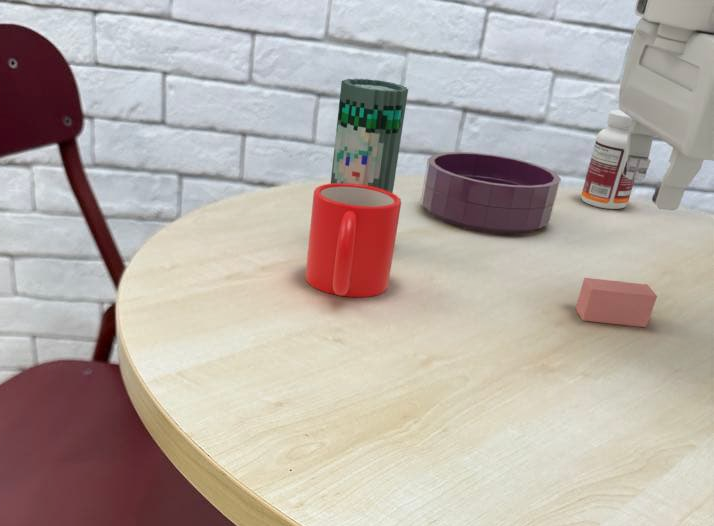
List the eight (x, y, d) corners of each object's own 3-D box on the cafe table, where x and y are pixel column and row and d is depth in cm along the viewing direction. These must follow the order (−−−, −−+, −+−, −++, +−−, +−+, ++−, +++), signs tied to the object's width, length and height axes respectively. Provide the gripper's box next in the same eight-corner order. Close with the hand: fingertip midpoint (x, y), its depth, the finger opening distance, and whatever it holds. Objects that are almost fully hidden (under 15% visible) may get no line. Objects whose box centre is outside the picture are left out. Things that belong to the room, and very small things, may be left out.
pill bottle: (617, 199, 117) (644, 111, 110) (632, 212, 112) (661, 121, 105) (574, 195, 116) (598, 106, 110) (587, 207, 111) (613, 116, 105)
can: (317, 244, 88) (334, 83, 79) (337, 229, 93) (355, 76, 84) (372, 256, 87) (395, 94, 78) (390, 241, 91) (414, 86, 82)
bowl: (535, 205, 110) (546, 160, 106) (559, 243, 97) (573, 193, 94) (415, 192, 109) (423, 146, 106) (425, 228, 97) (434, 177, 93)
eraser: (637, 315, 81) (647, 284, 79) (646, 327, 78) (657, 296, 76) (575, 308, 80) (584, 277, 79) (582, 320, 78) (591, 288, 76)
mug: (295, 307, 74) (304, 214, 69) (309, 262, 83) (318, 178, 79) (385, 318, 74) (400, 226, 69) (388, 272, 83) (402, 189, 79)
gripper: (811, 22, 56) (726, 233, 64) (705, -2, 73) (648, 168, 81) (719, 9, 56) (645, 223, 64) (633, -13, 72) (584, 159, 80)
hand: (646, 192), depth 73 cm, fingers open, 8 cm apart
